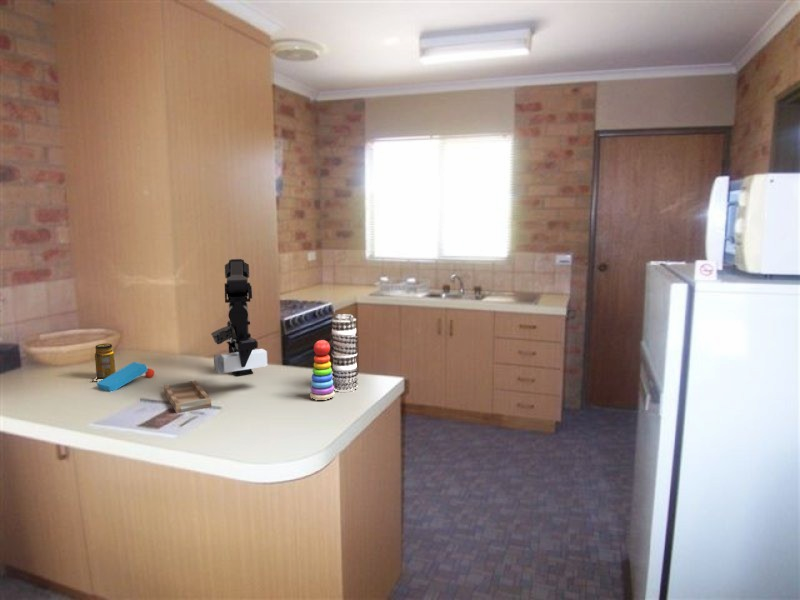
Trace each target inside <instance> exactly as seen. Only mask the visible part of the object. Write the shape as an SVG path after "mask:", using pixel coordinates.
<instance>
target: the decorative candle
mask: <svg viewBox="0 0 800 600" xmlns="http://www.w3.org/2000/svg"><path fill="white" fill-rule="evenodd" d="M331 321H332V329H331V331H330V332H329V334H330V336H329V338H330V340H331V342H330V345H331V346H330V350H332V351H331V357H332V359H333V361H332V368H331V369H332V372H331V374H332V376H333V377H332V380H333V386H334V388H335V389H337V390H352V389H354V388H356V387H358V385H359V382H358V380H359V377H358V374H359V373H358V372H357V371H358V370H359V368H358V365H357V363H358V362H357V355H358V353H359V351H358V350H357V349H358V348H359V347H358V346H357V344H358V343H359V340H357V339H359V336H358V335H356V334H357V328H356V326H357V324H356V321H357V318H355V317H354V316H353V314H350V313H340V314H339V313H338V314H336V315H334V317H333V318H332V319H331Z"/></svg>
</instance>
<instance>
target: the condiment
mask: <svg viewBox="0 0 800 600" xmlns="http://www.w3.org/2000/svg"><path fill="white" fill-rule="evenodd" d="M94 348H95V350H94V351H95V353H94V361H95V374H96V376H97V379H105V378H107V377H108V376H110V375H112V374H114V373H115V372H116V364H115V352H114V350H113V345H112V343H100V344H99V343H98V344H96V345H95V346H94ZM92 381H94V380H93V379H92V380H90V382H91V383H93V382H92Z"/></svg>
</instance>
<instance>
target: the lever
mask: <svg viewBox="0 0 800 600" xmlns="http://www.w3.org/2000/svg"><path fill="white" fill-rule="evenodd" d="M154 375H155V371H154V369H153V368H148V367H147V365H146V364H143V363H141V362H140V363H139V362H135V361H132V362H131V363H129V364H128V365H126V366H124V367H122V368H120V369H119V370H117V371H115V373H114V374H112V375H110V376H108V377H107V378H105V379H103V380H101V381H99V382H96V385H97V388H98V389H99V388H100V389H99V390H103V391H106V390H107V391H106V392H109V393H111V391H112V392H115V391H116V390H119V389H120V388H121V387H123V386H125V385H126V384H129V383H130V382H132V381H134V380H135V379H136V378H138V377H145V378H147V379H151V378H153V377H154Z"/></svg>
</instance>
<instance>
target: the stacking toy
mask: <svg viewBox="0 0 800 600" xmlns="http://www.w3.org/2000/svg"><path fill="white" fill-rule="evenodd" d="M330 345H331V344H330V343H329V342H328V341H327V340H325V339H321V340H318V341H316V342H315V343H314V345H313V352H314V353H315V354H316V355H314V357H313V361H314V363H313V369H312V375H311V379H312V380H311V382H310V384H311V386H310V392H309V397H310V398H311V399H312V398H313V399H317V400H325V399H330V398H332V397H333V398H334V397H335V396H336V392H335V391H334V386H333V380H332V378H333V376H332V373H333V372H332V369H333V368H332V367H331V366H332V362H331V361H330V360H331V356H330V355H329V353H330V350H331V346H330ZM333 398H332V399H333ZM313 399H312V400H313ZM317 400H316V401H317ZM330 400H331V399H330Z"/></svg>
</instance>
